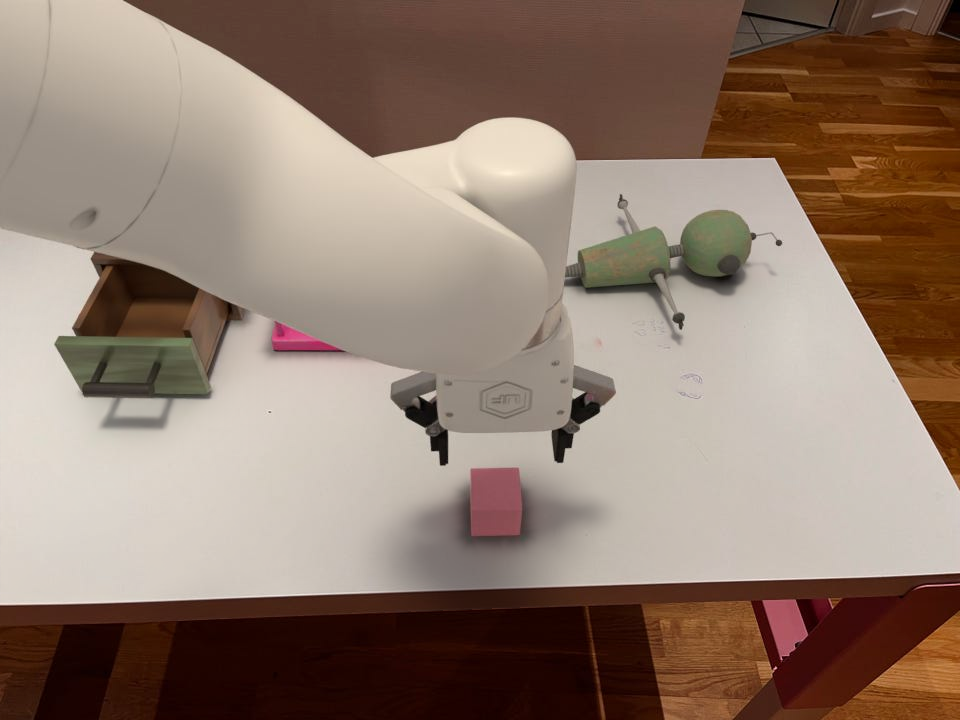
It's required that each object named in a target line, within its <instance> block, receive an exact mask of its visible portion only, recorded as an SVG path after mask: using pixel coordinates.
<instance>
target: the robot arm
mask: <svg viewBox="0 0 960 720" xmlns="http://www.w3.org/2000/svg"><path fill="white" fill-rule="evenodd" d="M577 167H578V164H577V157H576V154H575V150H574V148H573V147H572V145H571V143H570V141H569V140H568V139H567V137H566V136H565V135H564V134H562V133H561V132H560V131H559V130H557V129H555V128H554V127H552V126H550V125H548V124H546V123H544V122H541V121H538V120H534V119H531V118H525V117H515V116H514V117H512V116H510V117H509V116H508V117H498V118H492V119H487V120H484V121H482V122H478V123H477V124H475V125H472V126H470V127H469V128H467V129H465V130H464V131H463V132H461V134H459V136H457V137H456V138H455V139H454V140H449V141H446V142H443V143H442V142H441V143H438V144H434V145H427V146H424V147H419V148H414V149H408V150H402V151H398V152H392V153H388V154H387V153H386V154H383V155H378V156H374V157H372V156H370V155H369V154H368V153H366V152H364V151H363V150H362V149H361V148H359V147H358V146H356V145H355V144H353V142H351V141H349V140H347V139H346V138H345V137H344V136H342V135H341V134H340V133H338V132H337V131H336V130H335V129H333V128H331V126H329V125H328V124H327V123H325V122H324V121H323V120H321V119H320V118H319V117H318V116H316V115H315V114H313V113H312V112H311V111H309V110H308V109H307V108H305V107H304V106H303V105H302V104H300V103H298V102H297V101H296V100H294V99H293V98H292V97H291V96H289V95H288V94H286V93H285V92H283V91H282V90H280V89H279V88H277V87H276V86H275V85H273V84H271V83H270V82H268V81H267V80H265V79H263V78H262V77H261V76H259V75H257V74H256V73H254V72H253V71H251V70H250V69H248V68H246V66H244V65H242V64H241V63H239V62H237V61H236V60H234V59H233V58H231V57H229V56H227V55H226V54H224V53H223V52H221V51H220V50H217V49H216V48H214V47H212V46H210V45H209V44H206V43H204V42H202V41H200V40H198V39H197V38H194V37H192V36H191V35H189V34H187V33H185V32H183V31H181V30H179V29H177V28H175V27H173V26H172V25H170V24H168V23H166V22H164V21H163V20H161V19H159V18H158V17H156V16H154V15H152V14H149V13H147V12H145V11H143V10H141V9H139V8H138V7H136V6H134V5H132V4H131V3H128V2H127V1H124V0H0V230H5V231H8V232H13V233H17V234H21V235H26V236H28V237H29V236H30V237H33V238H39V239H42V240H47V241H51V242H56V243H59V244H64V245H67V246H71V247H73V248H74V247H75V248H77V249H81V250H85V251H89V252H93V253H94V252H97V253H102V254H106V255H110V256H114V257H118V258H122V259H126V260H130V261H134V262H138V263H142V264H145V265H148V266H152V267H155V268H158V269H161V270H164V271H166V272H168V273H170V274H173V275H175V276H177V277H179V278H181V279H183V280H185V281H187V282H188V283H190V284H192V285H194V286H196V287H198V288H200V289H202V290H204V291H206V292H208V293H210V294H213V295H215V296H217V297H219V298H221V299H223V300H225V301H228V302H230V303H232V304H235V305H237V306H240V307H242V308H245V309H246V310H248V311H251V312H252V313H254V314H257V315H259V316H262V317H265V318H267V319H269V320H272V321H273V322H275V321H276V322H278V323H281V324H283V325H285V326H288V327H290V328H292V329H295V330H297V331H299V332H301V333H304V334H306V335H308V336H311V337H313V338H315V339H318V340H320V341H322V342H324V343H327V344H329V345H332V346H334V347H337V348H339V349H341V350H340V351H344V352H347V353H349V354H352V355H355V356H358V357H360V358H363V359H366V360H368V361H372V362H376V363H378V364H382V365H385V366H390V367H394V368H398V369H404V370H408V371H409V370H410V371H415V372H417V373H414V374H411V375H409V376H406V377H404V378H401V379H399V380H398V379H397V380H396V381H393V382H392V383H391V385H390V393H389V394H390V395H389V396H390V400H391V401H392V402H393V403H394V404H395V405H396V406H397V407H398V408H399V410H401V411H403V412H404V417H405V418H407V419H408V420H409V421H411V422H413V423H415V424H417V425H418V426H420V427H422V428H424V432H425V435H426V436H428V437H429V443H430V452H438V459H439V466H440V467H442V466H443V467H444V466H447V465H449V432H451V433H452V432H453V433H459V434H460V433H461V434H497V433H498V434H500V433H502V434H504V433H535V432H551V433H550V434H551V443H552V444H551V445H552V452H553V461H554V462H556V464H563V463H564V462H565V461H564V460H565V453H566V449H573V448H572V447H573V442H574V435H575V434H576V433H578V432H579V431H580V430H581V425H582V424H584V423H585V422H587V421H589V420H590V419H592V418H594V417H595V416H598V415H599V414H600V413H601V408H602V407H603V406H605V405H607V403H608V402H609V401H610V400H611V399H613V398H614V397H615V395H616V394H617V390H616V386H615V380H614V378H613V377H610V376H607V375H604V374H601V373H599V372H596V371H594V370H590V369H587V368H585V367H582V366H579V365H576V364H575V345H574V334H573V333H574V332H573V328H572V321H571V319H570V317H569V316H570V315H569V312H568V310H567V307H566V306H565V304H564V302H563V299H564V298H563V297H564V289H565V279H566V277H565V272H566V266H567V263H568V255H569V247H570V239H571V230H572V229H571V228H572V221H573V211H574V202H575V194H576V185H577V171H578V170H577V169H578V168H577ZM574 389H575V390H578V391H581V392H583V393H582V394H580V395H578V396H576V397H575V398H574V397H573V391H574ZM432 392H435V396H433V397H432V398H431V399H429V400H427V399H425V398H423V397H422V396H424V395H426V394H429V393H432Z"/></svg>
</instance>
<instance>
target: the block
mask: <svg viewBox="0 0 960 720" xmlns="http://www.w3.org/2000/svg"><path fill="white" fill-rule="evenodd" d="M469 477H470V480H469V481H470V483H469V485H470V487H469V492H470V493H469V494H470V495H469V497H470V499H469V501H470V503H469V504H470V536H471V537H492V536H493V537H494V536H520V535H521V527H522V517H523V500H522V487H521V486H522V485H521V474H520V467H482V468H481V467H480V468H478V467H477V468H473V467H471V468H470V476H469Z"/></svg>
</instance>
